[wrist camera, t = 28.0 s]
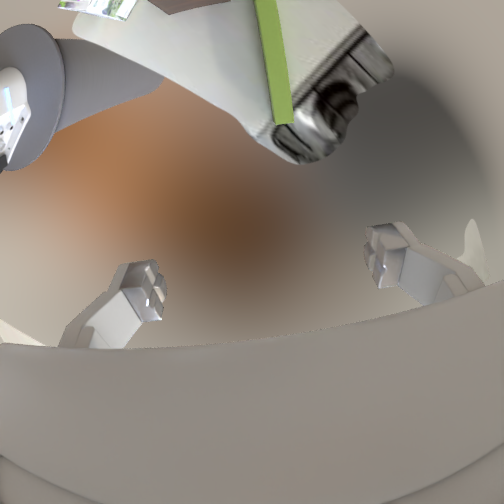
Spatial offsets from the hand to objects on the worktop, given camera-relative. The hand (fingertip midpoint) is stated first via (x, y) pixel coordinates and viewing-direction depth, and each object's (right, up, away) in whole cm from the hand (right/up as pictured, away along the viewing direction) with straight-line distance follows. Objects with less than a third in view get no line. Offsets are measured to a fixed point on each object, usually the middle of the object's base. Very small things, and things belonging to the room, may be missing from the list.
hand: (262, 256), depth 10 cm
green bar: (+3, +32, +25) cm, 41 cm away
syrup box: (-22, +41, +17) cm, 50 cm away
